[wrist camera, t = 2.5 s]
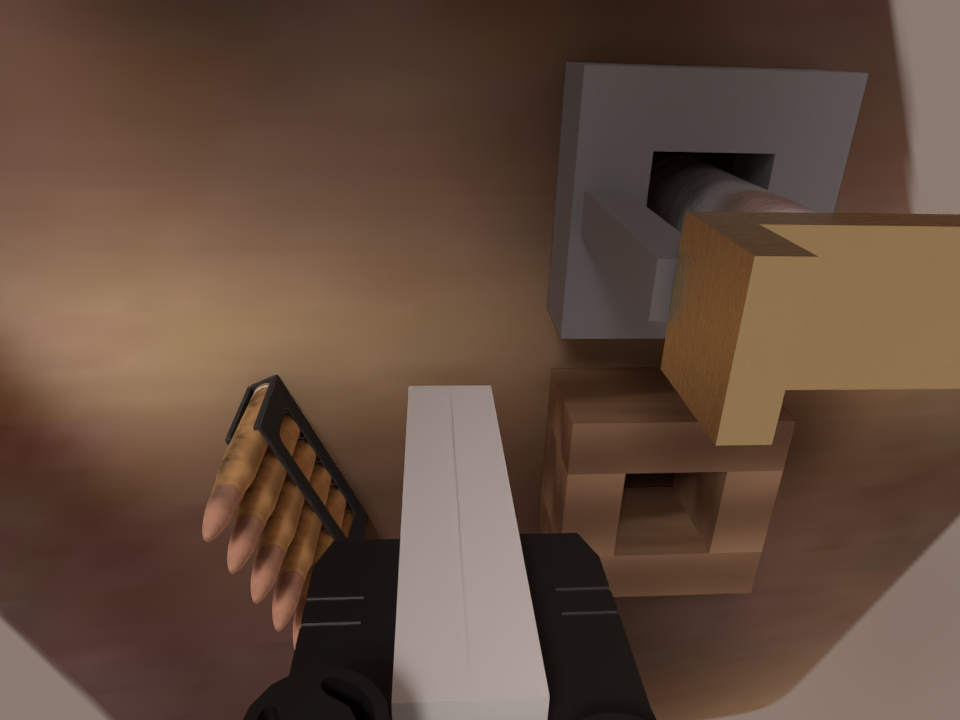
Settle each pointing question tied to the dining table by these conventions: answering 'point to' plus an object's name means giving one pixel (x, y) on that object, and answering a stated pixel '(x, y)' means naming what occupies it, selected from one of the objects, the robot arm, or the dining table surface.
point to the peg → (707, 191)
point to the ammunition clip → (279, 499)
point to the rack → (655, 510)
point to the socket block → (676, 128)
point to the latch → (808, 311)
